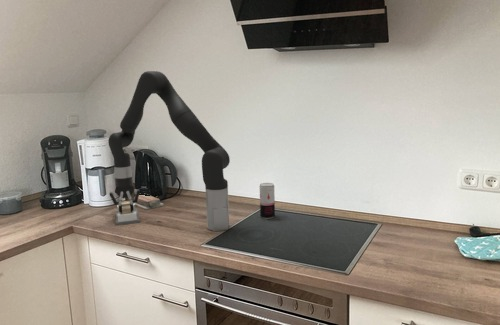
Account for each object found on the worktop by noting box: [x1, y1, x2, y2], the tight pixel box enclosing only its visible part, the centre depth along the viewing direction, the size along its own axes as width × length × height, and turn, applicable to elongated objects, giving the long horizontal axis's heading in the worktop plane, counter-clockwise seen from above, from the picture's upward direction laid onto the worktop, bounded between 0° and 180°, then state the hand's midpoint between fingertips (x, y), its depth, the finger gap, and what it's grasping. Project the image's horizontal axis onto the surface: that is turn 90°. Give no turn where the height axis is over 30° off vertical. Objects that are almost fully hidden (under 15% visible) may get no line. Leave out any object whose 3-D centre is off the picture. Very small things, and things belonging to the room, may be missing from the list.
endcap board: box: [115, 203, 140, 226], centre depth 184 cm, size 19×10×4 cm, turn 18°
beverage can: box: [259, 182, 276, 220], centre depth 178 cm, size 7×7×15 cm
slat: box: [121, 200, 131, 214], centre depth 184 cm, size 14×4×5 cm, turn 18°
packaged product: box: [133, 195, 164, 211], centre depth 205 cm, size 18×5×10 cm
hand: (126, 212), depth 184 cm, fingers closed on slat, 3 cm apart
